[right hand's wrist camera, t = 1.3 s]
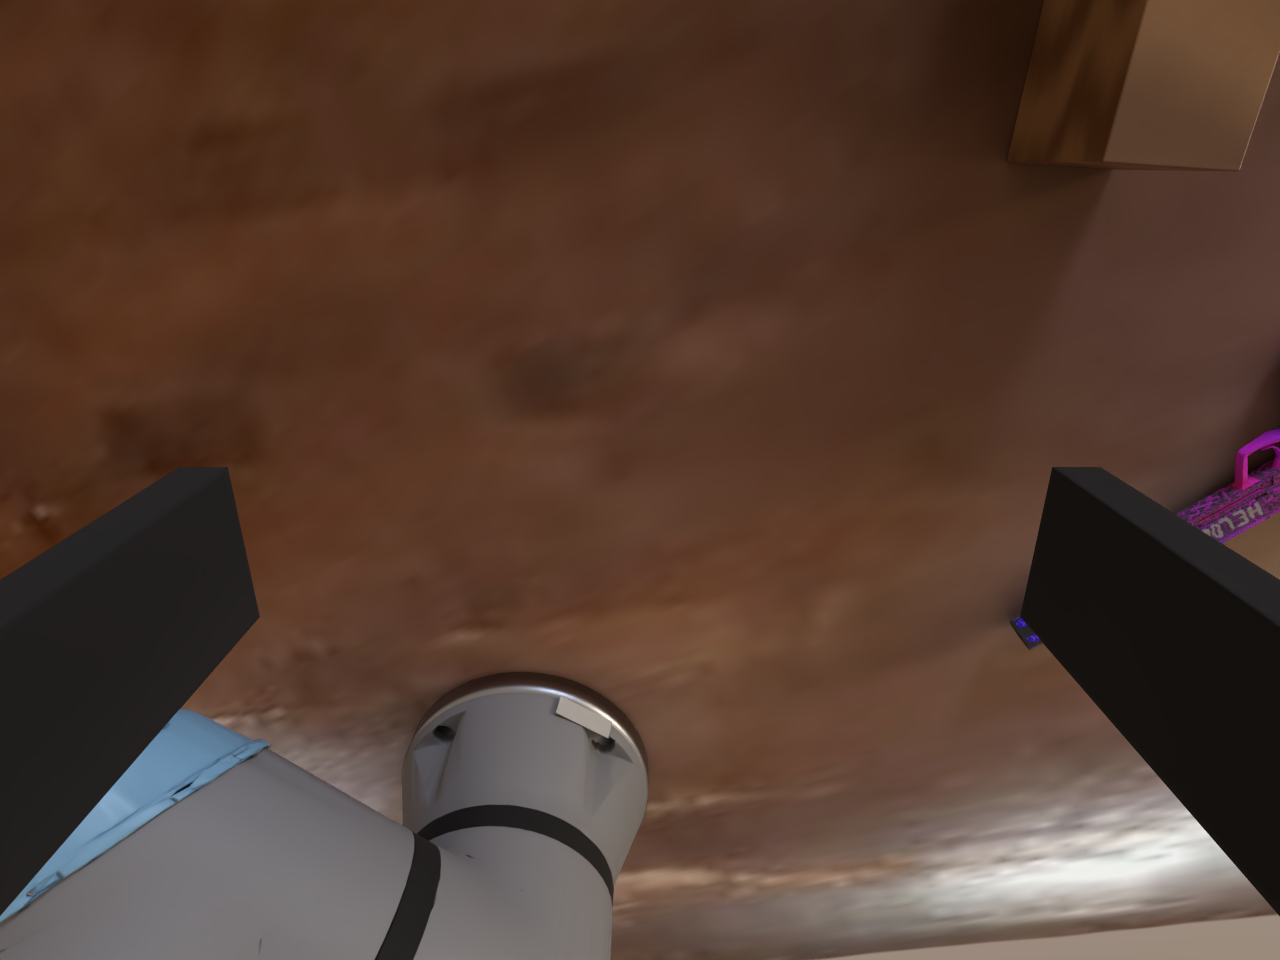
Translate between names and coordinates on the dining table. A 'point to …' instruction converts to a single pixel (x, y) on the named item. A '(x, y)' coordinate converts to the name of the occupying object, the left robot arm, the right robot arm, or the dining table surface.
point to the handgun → (1223, 506)
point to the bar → (1146, 83)
